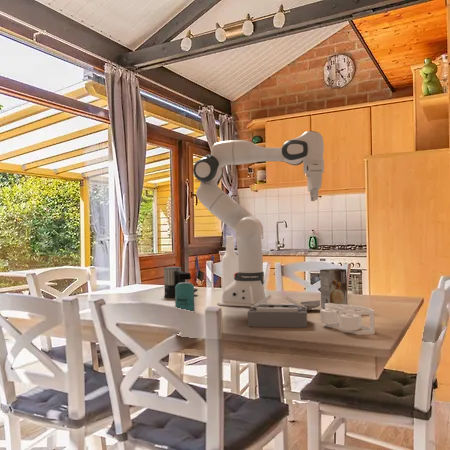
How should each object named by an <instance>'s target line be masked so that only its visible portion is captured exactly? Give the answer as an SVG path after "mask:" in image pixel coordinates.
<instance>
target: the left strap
mask: <svg viewBox="0 0 450 450" xmlns="http://www.w3.org/2000/svg"><path fill="white" fill-rule="evenodd" d="M271 299H272V295H271V294H270V295H268V296H267V297H266V298H265V299H263V300H261V301H259V302H258V303H256V304H254V305H252V306H254V308H255V307H257V306H259V305H260V304H262V303H264V302H265V301H267V302H268V301H269V300H271Z"/></svg>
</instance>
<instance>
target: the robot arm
mask: <svg viewBox="0 0 450 450" xmlns="http://www.w3.org/2000/svg"><path fill="white" fill-rule="evenodd" d="M324 151H325V144H324V137H323V135H322V134H321V133H320V132H319V131H314V130H306V131H305V132H304V133H302V134H300V135H299V136H298V137H295V138H292V139H290V140H289V139H288V140H286V141H285V142H284V143H283V145H282V146H281V147H266V146H260V145H258V144H256V143H254V142H251V141H249V140H244V139H231V140H230V139H229V140H224V141H223V140H222V141H218V142H215V143H214V144H213V145H212V147H211V150H210V154H207V155H205V156H203V157H202V158H200V159H198V160H197V161H196V162H195V163H194V165H193V169H192V171H193V176H194V177H195V178H196V179H197V180H198V181H199V182H200V184H199V186H198V188H197V189H196V194H195V195H196V198H197V199H198V201H199V202H200V203H201V204H202V205H203V206H204V208H205V209H207V210H208V211H209V212H210V213H211V214H212V215H214V216H215V217H216V218H217V219H218V220H220V221H221V222H222V223H224V224H225V225H226V226H228V228H230V229H232V231H234V232H235V237H236V238H235V239H236V248H237V256H238V268H239V272H236V273H235V274H234V280H235V281H234V282H232V283H231V284H230V285H229V286H228V287H226V288H225V289H224V291H223V290H222V294H221V296H222V297H221V299H219V300H218V301H217V303H216V305H218V306H229V307H230V306H232V307H250V306H252V304H256V303H258V302H259V301H261V300H263V299H265V298H266V293H265V292H266V291H265V272H264V265H263V264H264V261H263V247H262V245H263V244H262V234H263V233H264V227H263V226H264V225H263V224H262V222H261V221H260V220H259V219H258V218H257V216H255V215H253V214H252V213H251V212H250V211H248V210H247V209H246V208H244V207H243V206H242V205H241V204H239V203H238V202H237V201H235V199H233V198H232V197H231V196H230V195H229V194H227V193H226V192H225V190H223V189H222V188H221V187H220V186H219V185H220V182H221V180H222V177H223V175H224V169H223V167H224V166H225V167H226V166H228V165H234V166H236V165H238V166H240V165H247V164H252V163H253V164H254V163H258V162H260V163H261V162H283V163H286V164H288V165H290V166H299V165H301V164H303V165H302V166H303V174H306V178H307V192H309V194H310V201H311V202H315V201H317V200H318V199H319V189H321V188H322V182H323V173H325V159H324V153H325V152H324ZM264 303H268V300H267V301H265V302H264Z"/></svg>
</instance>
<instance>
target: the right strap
mask: <svg viewBox="0 0 450 450" xmlns="http://www.w3.org/2000/svg"><path fill="white" fill-rule="evenodd" d="M283 299H284V300H286V301H288V302H290V304H295V305H296V306H298V307H300V308H302V306H304V305H302V304H300V303H301V302H298V301H297V300H295V299H293V298H292V297H290V296H288V295H286V294H285V295H284V297H283Z"/></svg>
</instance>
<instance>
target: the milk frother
mask: <svg viewBox="0 0 450 450" xmlns="http://www.w3.org/2000/svg"><path fill="white" fill-rule="evenodd" d="M179 273H184V271H183V270H182V267H181V266H169V267H167V266H166V267H163V283H164V296H163V297H164V298H169V297H172V298H173V297H174V298H175V286H176V285H177V284H178V283H185V282H186V280H179V279H178V277H179ZM196 292H198V289H197V288H194V294H195V293H196Z"/></svg>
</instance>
